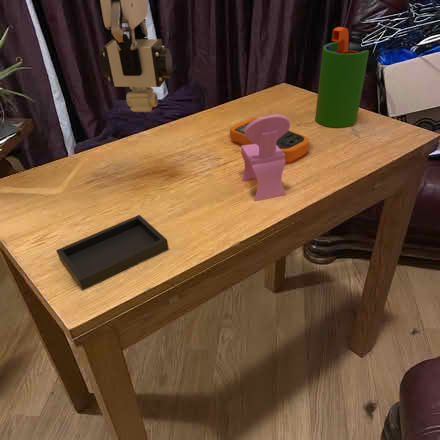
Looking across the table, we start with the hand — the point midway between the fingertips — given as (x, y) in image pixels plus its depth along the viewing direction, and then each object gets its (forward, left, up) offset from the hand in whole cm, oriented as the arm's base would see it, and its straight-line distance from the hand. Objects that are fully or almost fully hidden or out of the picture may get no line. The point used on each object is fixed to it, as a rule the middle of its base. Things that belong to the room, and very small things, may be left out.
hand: (137, 68), depth 75 cm
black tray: (-1, -26, -21) cm, 33 cm away
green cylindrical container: (+37, +29, -21) cm, 52 cm away
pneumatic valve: (0, 0, -7) cm, 7 cm away
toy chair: (+22, -3, -21) cm, 31 cm away
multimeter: (+22, +14, -21) cm, 34 cm away
